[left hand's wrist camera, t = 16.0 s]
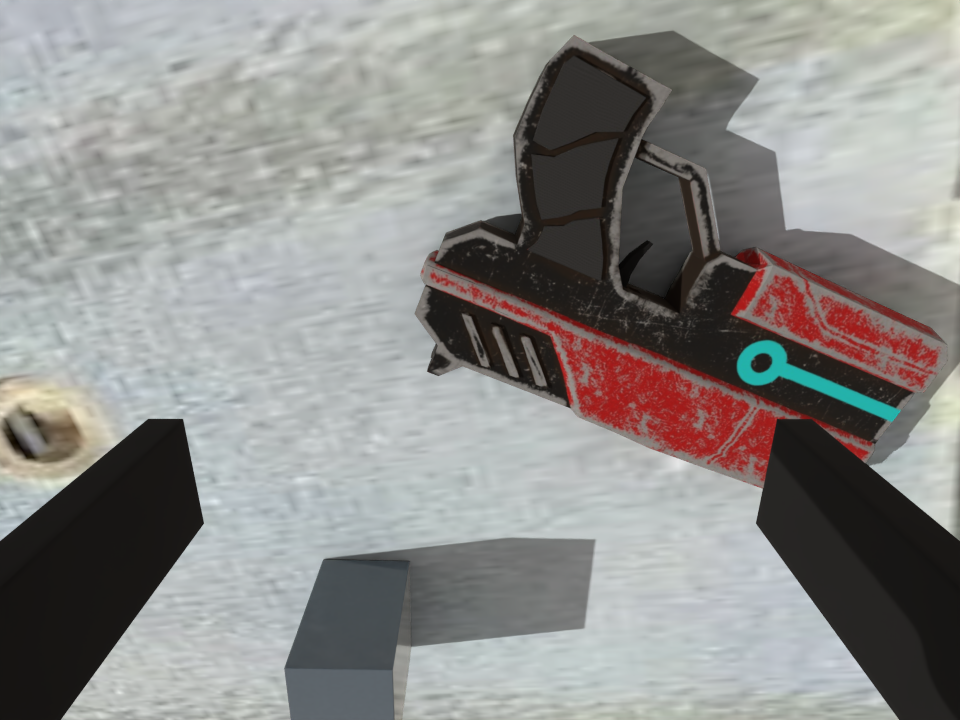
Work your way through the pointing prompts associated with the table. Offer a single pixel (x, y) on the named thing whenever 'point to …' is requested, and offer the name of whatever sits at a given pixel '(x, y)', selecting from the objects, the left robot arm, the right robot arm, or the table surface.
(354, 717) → the grey rectangular block
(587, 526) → the table surface
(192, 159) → the table surface
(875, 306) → the gun
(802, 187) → the table surface
